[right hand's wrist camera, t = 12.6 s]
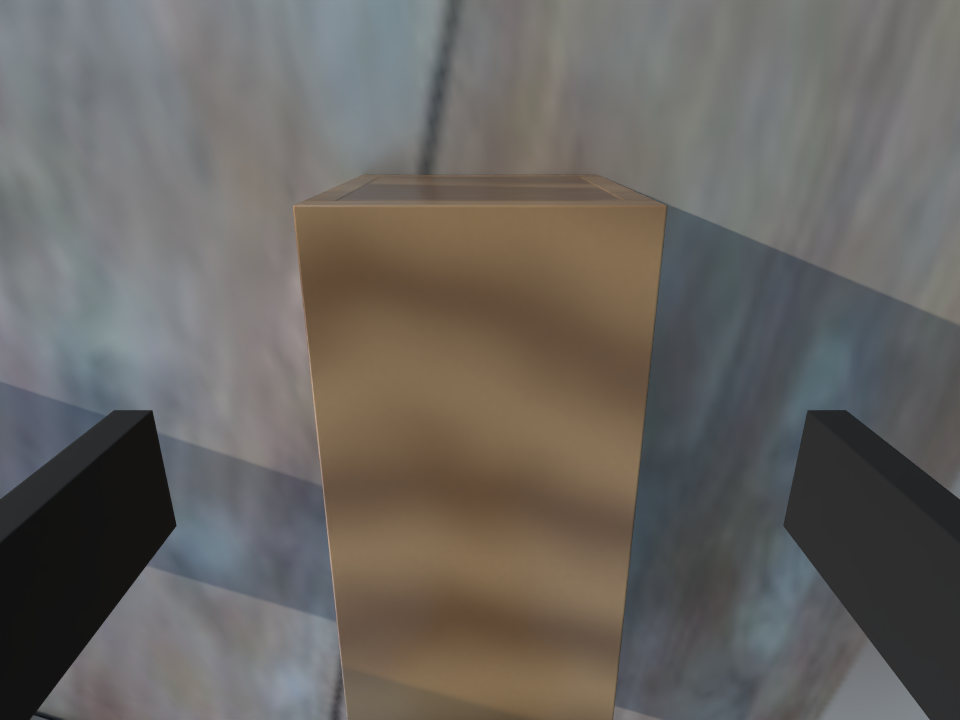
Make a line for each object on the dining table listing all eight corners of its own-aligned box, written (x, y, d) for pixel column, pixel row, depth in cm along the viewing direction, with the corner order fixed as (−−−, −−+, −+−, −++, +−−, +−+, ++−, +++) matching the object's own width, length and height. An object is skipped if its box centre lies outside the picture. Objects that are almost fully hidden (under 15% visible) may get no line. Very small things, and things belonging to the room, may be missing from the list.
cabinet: (574, 547, 36) (613, 722, 26) (385, 547, 36) (346, 722, 26) (599, 174, 29) (668, 205, 18) (361, 174, 29) (291, 204, 18)
